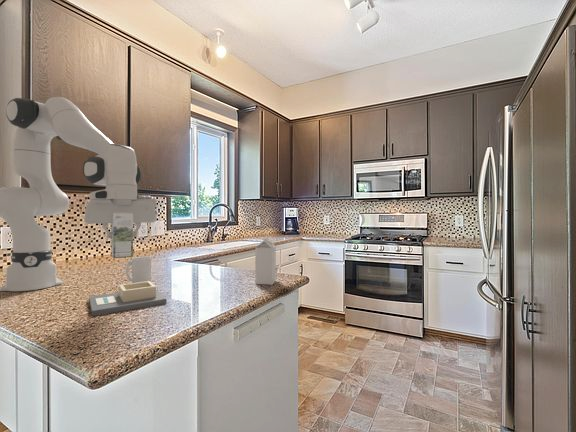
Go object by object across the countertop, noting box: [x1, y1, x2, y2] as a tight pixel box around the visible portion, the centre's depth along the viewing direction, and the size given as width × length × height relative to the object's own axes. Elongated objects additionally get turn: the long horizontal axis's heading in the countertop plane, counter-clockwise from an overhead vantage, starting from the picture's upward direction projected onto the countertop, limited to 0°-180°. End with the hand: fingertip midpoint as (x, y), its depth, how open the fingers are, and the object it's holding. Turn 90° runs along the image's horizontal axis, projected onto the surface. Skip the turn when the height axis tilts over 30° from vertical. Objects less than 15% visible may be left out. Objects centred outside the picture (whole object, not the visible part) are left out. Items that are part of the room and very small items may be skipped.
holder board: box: [88, 281, 167, 317], centre depth 96 cm, size 18×20×5 cm
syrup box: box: [110, 213, 134, 259], centre depth 95 cm, size 6×6×14 cm
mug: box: [125, 256, 152, 283], centre depth 113 cm, size 10×7×12 cm, turn 79°
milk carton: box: [254, 236, 277, 286], centre depth 123 cm, size 7×7×19 cm
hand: (122, 237), depth 95 cm, fingers closed on syrup box, 6 cm apart
